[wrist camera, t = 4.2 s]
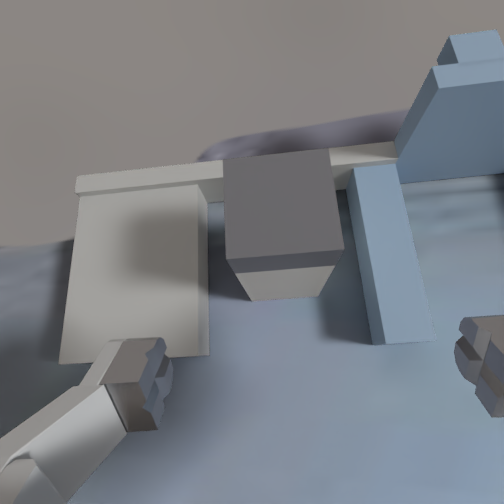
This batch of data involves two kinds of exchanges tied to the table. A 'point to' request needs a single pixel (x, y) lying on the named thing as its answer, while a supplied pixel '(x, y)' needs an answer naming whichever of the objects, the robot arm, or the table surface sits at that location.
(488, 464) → the table surface
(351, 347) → the table surface
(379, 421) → the table surface
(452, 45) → the blue bracket
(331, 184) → the upright grey square pillar
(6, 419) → the table surface
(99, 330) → the off-white flat angled piece
